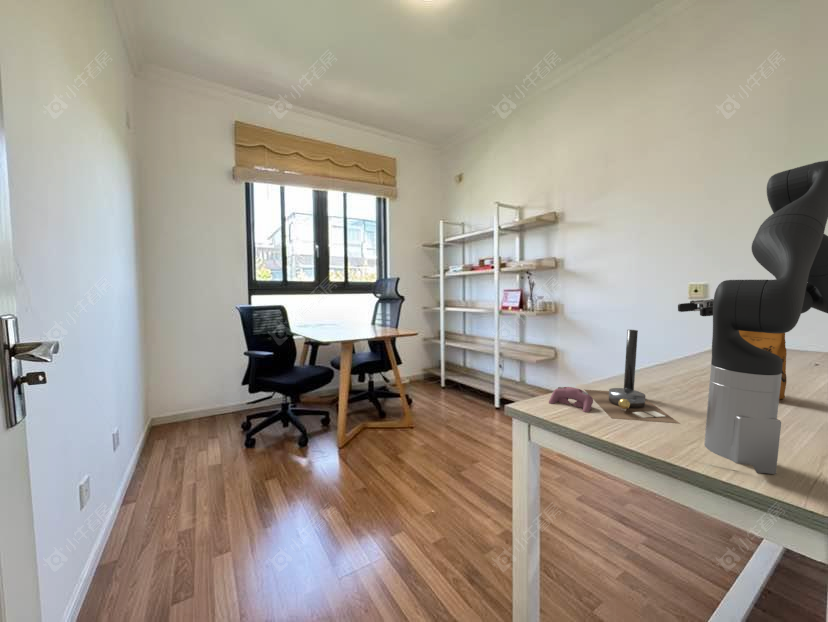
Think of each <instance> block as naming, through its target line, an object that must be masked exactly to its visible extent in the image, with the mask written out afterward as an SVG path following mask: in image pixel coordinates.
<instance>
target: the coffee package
mask: <svg viewBox="0 0 828 622" xmlns="http://www.w3.org/2000/svg"><path fill="white" fill-rule="evenodd" d="M739 333H740V336H741V337H742V338H743V339H744V340H746V341H747V342H749V343H750V344H752V345H754V346H756V347H758V348H760V349H763V350H765V351H768V352H771V353H773V354H776V355H778V356H779V357H780V358H781V359H782V361H783V367H782V377H781V386H780V395H779V400H784V399H785V397H786V395H785V393H786V387H787V371H786V370H787V348H786V333H764V332H752V331H740V330H739Z"/></svg>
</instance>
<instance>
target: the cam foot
mask: <svg viewBox="0 0 828 622" xmlns="http://www.w3.org/2000/svg"><path fill="white" fill-rule="evenodd" d="M638 331H639V330H637V329H627V330H626V347H625V364H624V376H623V377H624V379H623V387H614V388H609V389H608V391H609V401H610V402H612V403H614V404H616V405H619V406H620V407H621V410H624V411H626V409H628V408H629V407H630V408H642V407H644V406H645V399H646V394H645V393H643V392H641V391H639V390H635V379H636V366H637V365H636V363H637V348H638V347H637V346H638V333H639V332H638Z"/></svg>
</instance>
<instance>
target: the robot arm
mask: <svg viewBox="0 0 828 622" xmlns="http://www.w3.org/2000/svg"><path fill="white" fill-rule="evenodd" d="M766 197H767V201H768V204H769V207H770V209H771V211H772V214H771V215H769V216H768V217H767V218H766V219H764V221H763V222H762V224H760V226H759V228H758V230H757V232H756V234H755V236H754V239H753V240H752V243H751V253H752V255H753V257H754V259H755V260H756V262H758V264H759V265H760V266H762V267H763V268H764V269H765V270H766V271H768V272H769V274H771V275H772V276H773V277H774V278H775V279H726V280H723V281H721V282H720V283H719V284H718V285H717V287H716V289H715V292H714V295H713V298H709V299H701V300H699V299H697V300H690V301H689V302H684V303H678V305H677V312H679V313H682V312H683V313H684V312H685V313H686V312H699V315H700V316H701V317H712V338H711V361H710V363H711V364H710V374H709V387H708V399H707V410H706V419H705V433H704V447H705V448H706V449H707V450H708V451H710V452H712V453H713V454H715V455H717V456H719V457H722V458H725V459H727V460H730V461H731V462H733V463H734V464H738V465H739V464H741V465H751V466H752V467H753V469H754V471H755V473H758V474H759V473H760V474H771V475H776V474H777V467H778V457H779V448H780V438H781V428H782V421H781V420H780V419H778V414H779V413H778V412H779V403H780V399H779V395H780V386H781V377H782V367H783V361H782V359H781V358H780V357H779V356H778V355H776V354H773V353H771V352H768V351H765V350H763V349H760V348H758V347H756V346H754V345H752V344H750V343H749V342H747V341H746V340H744V339H743V338H742V337H741V336H740V333H739V330H740V331H752V332H764V333H785V334H786V333H789V332H791V331H792V330H793V329H794V328H795V327H796V326H797V324H798V322H799V320H800V318H801V314H804V313H807V312H808V311H809V310H810V309H814V310H817V311H819V312H820V311H821V312H823V313H826V314H828V235H827V234H826V233H825V231H826V226H827V222H828V160H822V161H816V162H812V163H809V164H806V165H802V166H799V167H798V166H797V167H794V168H790V169H787V170H783V171H780V172H777V173H775V174H772V175H771V176H770V177H769V179H768V181H767V184H766Z"/></svg>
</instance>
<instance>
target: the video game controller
mask: <svg viewBox="0 0 828 622" xmlns="http://www.w3.org/2000/svg"><path fill="white" fill-rule="evenodd" d="M569 400H574V402H573V403H572V406H574V407H579V408H582V412H583V413H589V412H591V410H592V405H593V404H594V400H593V398H592V397H591V396H590V395H589V394H588V393H587V392H586V391H585V390H582V389H579V388H576V387H572V386H558V387H557V388H556V389H554V390H553V391H552V394H551V396H550V398H549V400H548V404H549V405H552V404H553V405H554V404H556V403H558V402H559V403H562V404H567V405H569V404H570V403H571V402H570V401H569Z"/></svg>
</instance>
